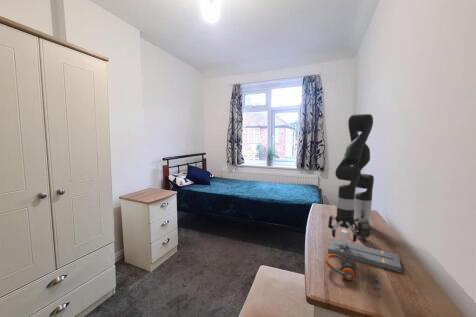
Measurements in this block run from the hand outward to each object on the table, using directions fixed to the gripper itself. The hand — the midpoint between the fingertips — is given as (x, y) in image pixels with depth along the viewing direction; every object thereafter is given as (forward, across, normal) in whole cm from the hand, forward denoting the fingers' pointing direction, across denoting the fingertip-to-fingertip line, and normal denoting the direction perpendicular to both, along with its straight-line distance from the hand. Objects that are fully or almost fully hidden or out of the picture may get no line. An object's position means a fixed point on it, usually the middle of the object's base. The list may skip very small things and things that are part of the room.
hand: (343, 239), depth 101 cm
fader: (+3, 0, 0) cm, 3 cm away
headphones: (+6, -5, +20) cm, 21 cm away
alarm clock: (+6, -7, -20) cm, 22 cm away
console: (+6, -8, 0) cm, 10 cm away
